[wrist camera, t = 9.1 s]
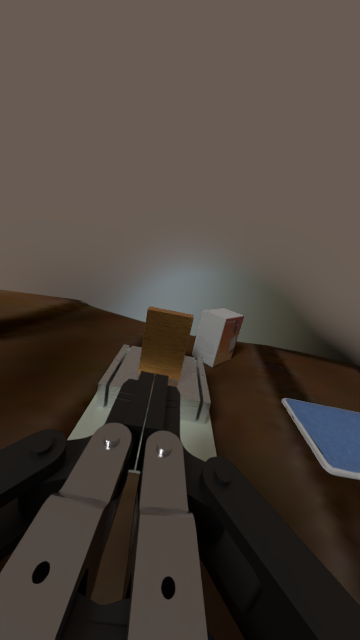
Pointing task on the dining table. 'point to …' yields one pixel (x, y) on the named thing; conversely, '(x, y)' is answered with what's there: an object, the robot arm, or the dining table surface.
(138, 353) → the grey slotted block
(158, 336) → the brown l-shaped piece
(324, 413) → the tablet computer
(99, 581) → the dining table surface
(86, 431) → the socket board
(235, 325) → the small box
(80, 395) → the dining table surface
